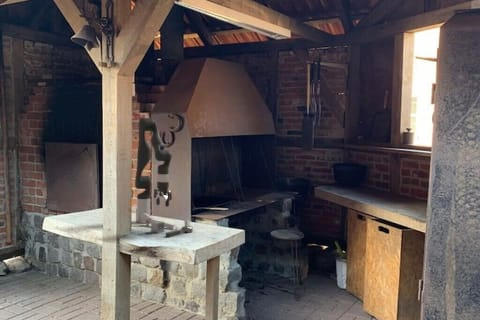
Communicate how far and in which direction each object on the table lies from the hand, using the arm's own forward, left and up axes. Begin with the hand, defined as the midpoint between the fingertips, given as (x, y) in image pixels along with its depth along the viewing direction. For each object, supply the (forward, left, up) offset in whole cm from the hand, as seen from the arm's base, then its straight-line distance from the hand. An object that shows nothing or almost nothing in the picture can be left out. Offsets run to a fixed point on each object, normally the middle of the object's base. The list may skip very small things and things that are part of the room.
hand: (162, 205), depth 288 cm
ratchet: (+12, +3, -17) cm, 21 cm away
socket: (-2, -2, -17) cm, 17 cm away
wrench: (-12, +9, -18) cm, 23 cm away
